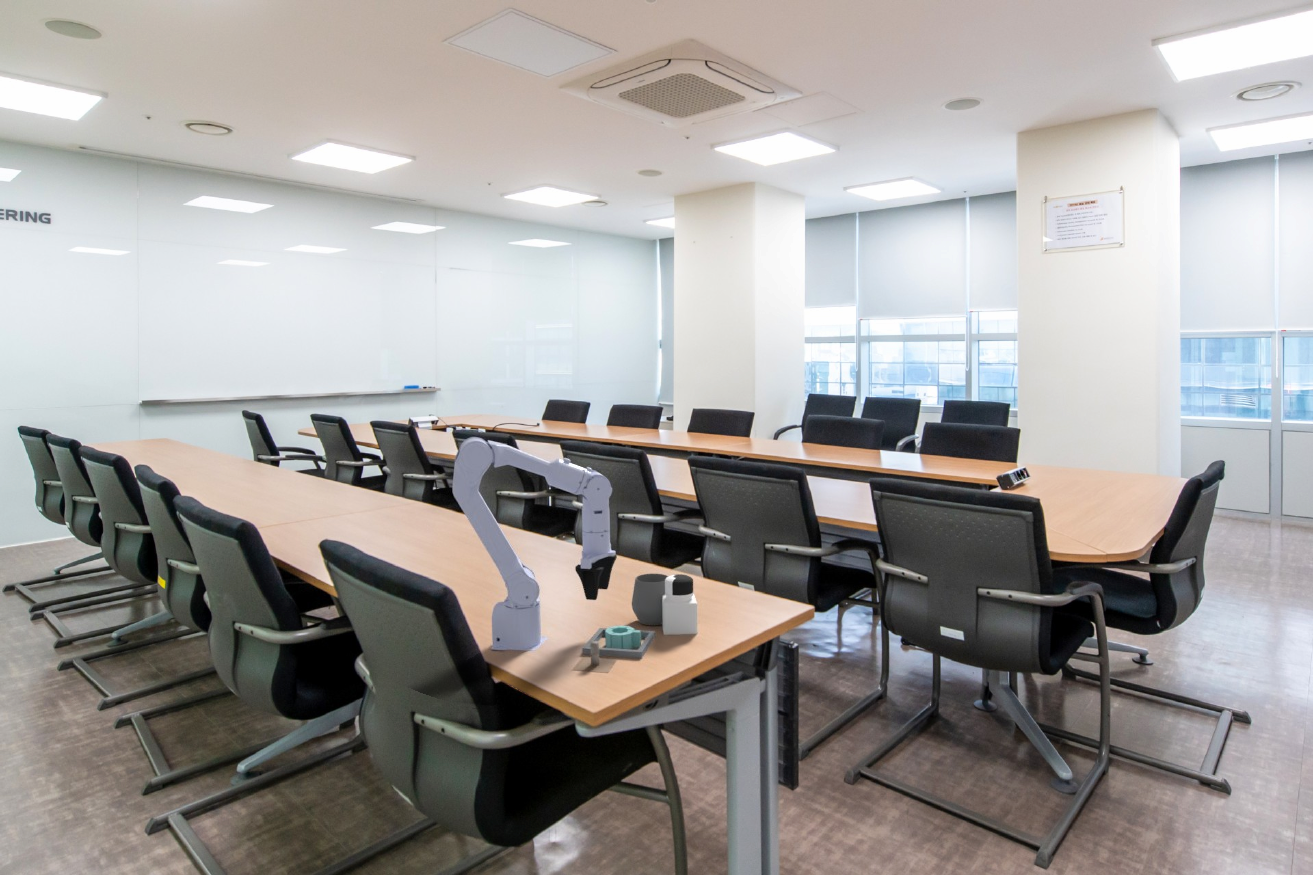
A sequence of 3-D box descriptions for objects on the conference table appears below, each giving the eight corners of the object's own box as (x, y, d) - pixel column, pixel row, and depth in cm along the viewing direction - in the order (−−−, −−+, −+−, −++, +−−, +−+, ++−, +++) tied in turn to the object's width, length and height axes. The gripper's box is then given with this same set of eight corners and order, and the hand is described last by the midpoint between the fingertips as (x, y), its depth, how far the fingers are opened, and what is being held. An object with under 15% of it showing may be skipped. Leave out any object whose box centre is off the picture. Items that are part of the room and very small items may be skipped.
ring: (603, 649, 152) (602, 634, 152) (610, 639, 158) (610, 624, 157) (637, 651, 151) (636, 636, 150) (643, 641, 156) (643, 626, 156)
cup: (637, 630, 165) (636, 585, 164) (627, 617, 174) (626, 574, 173) (679, 626, 167) (679, 581, 166) (667, 613, 176) (666, 570, 175)
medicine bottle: (694, 625, 168) (694, 571, 167) (697, 636, 160) (697, 580, 159) (662, 626, 167) (661, 572, 166) (663, 637, 160) (663, 581, 159)
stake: (571, 673, 142) (571, 648, 142) (583, 659, 149) (582, 635, 148) (607, 675, 140) (607, 650, 140) (618, 661, 147) (617, 637, 147)
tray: (582, 656, 150) (582, 648, 150) (600, 636, 162) (599, 627, 161) (641, 661, 147) (641, 652, 147) (655, 639, 159) (655, 631, 159)
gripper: (604, 538, 151) (605, 605, 152) (624, 523, 165) (625, 585, 166) (570, 536, 152) (571, 603, 154) (593, 522, 166) (594, 583, 168)
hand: (597, 593), depth 160 cm, fingers open, 7 cm apart
